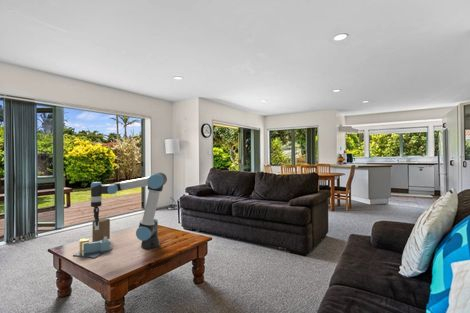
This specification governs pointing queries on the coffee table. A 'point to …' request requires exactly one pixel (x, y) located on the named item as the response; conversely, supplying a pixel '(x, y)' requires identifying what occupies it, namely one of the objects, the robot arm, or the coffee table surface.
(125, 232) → the coffee table surface
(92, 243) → the link
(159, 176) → the robot arm
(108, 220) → the wooden block
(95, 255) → the plate
